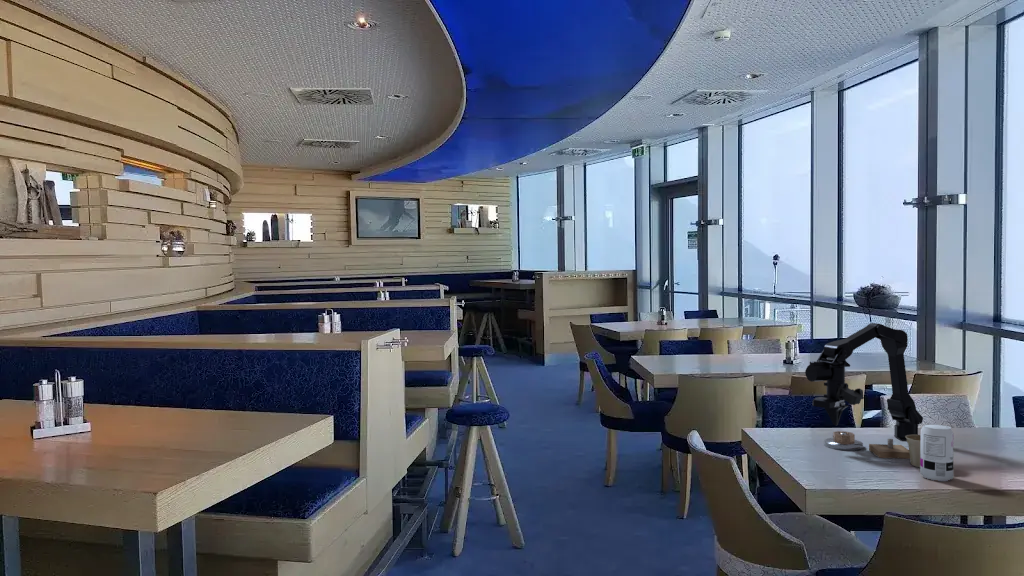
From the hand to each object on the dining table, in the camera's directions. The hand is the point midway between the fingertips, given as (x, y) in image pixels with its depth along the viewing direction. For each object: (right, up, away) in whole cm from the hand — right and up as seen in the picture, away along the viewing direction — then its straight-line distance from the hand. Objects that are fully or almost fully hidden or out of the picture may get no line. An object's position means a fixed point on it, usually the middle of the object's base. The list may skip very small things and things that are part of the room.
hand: (835, 425), depth 243 cm
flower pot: (+15, -8, -25) cm, 30 cm away
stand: (+13, -7, -11) cm, 19 cm away
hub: (+3, -7, 0) cm, 8 cm away
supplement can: (+12, -8, -37) cm, 40 cm away
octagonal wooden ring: (+3, -6, 0) cm, 6 cm away
